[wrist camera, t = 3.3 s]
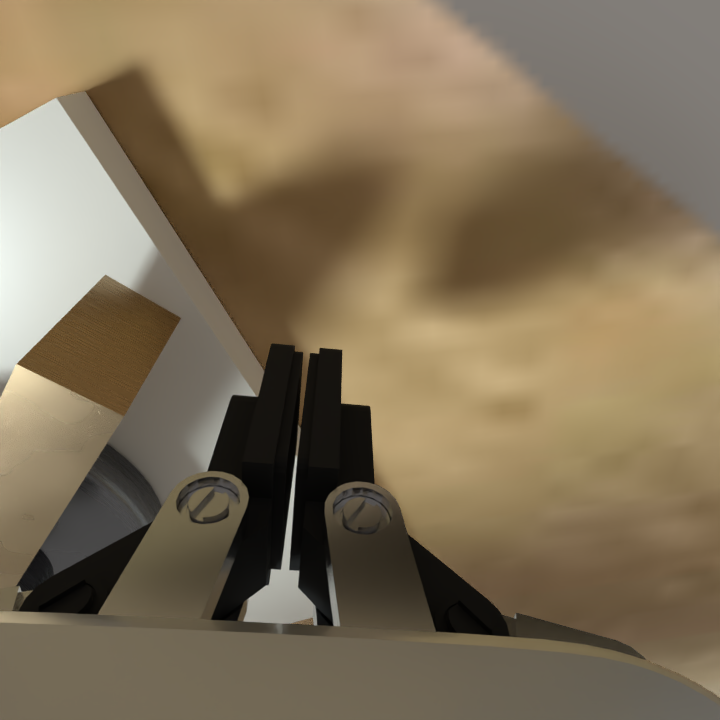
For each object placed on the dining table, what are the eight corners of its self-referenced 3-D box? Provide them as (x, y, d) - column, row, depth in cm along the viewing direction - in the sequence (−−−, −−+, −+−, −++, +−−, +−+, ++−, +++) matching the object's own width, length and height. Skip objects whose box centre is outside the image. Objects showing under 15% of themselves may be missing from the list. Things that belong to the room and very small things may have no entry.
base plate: (387, 564, 23) (390, 600, 21) (23, 669, 27) (4, 705, 25) (84, 91, 13) (52, 98, 11) (-424, 369, 17) (-496, 401, 15)
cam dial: (102, 628, 22) (44, 769, 18) (-166, 537, 19) (-315, 684, 15) (314, 373, 15) (301, 502, 11) (-45, 162, 12) (-254, 233, 8)
